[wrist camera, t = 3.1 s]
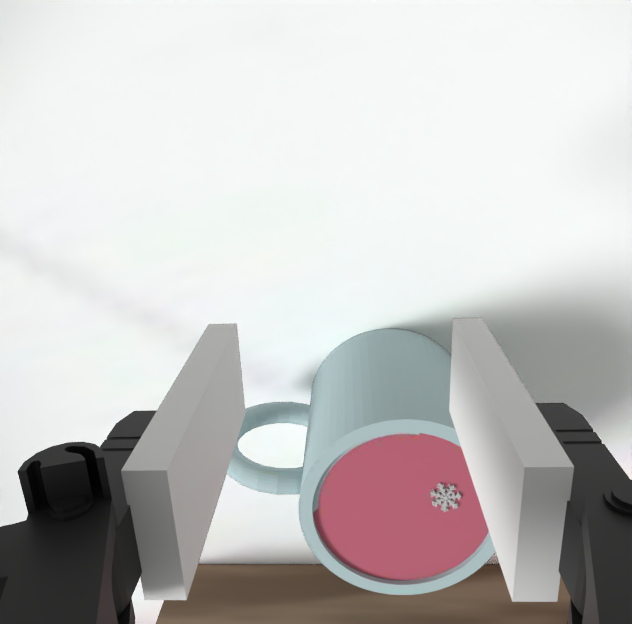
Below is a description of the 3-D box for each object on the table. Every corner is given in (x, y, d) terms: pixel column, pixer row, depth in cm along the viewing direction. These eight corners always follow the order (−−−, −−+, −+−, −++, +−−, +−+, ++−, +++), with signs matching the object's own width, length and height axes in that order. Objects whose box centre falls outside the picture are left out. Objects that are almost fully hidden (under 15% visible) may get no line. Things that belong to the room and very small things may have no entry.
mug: (478, 336, 33) (530, 429, 24) (452, 473, 37) (489, 604, 27) (237, 314, 34) (195, 399, 24) (233, 453, 37) (194, 575, 27)
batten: (177, 564, 40) (154, 626, 35) (569, 564, 38) (600, 629, 34) (182, 598, 41) (161, 663, 36) (564, 600, 39) (593, 668, 35)
